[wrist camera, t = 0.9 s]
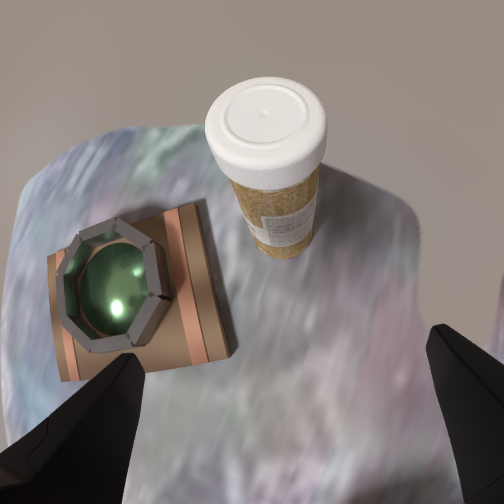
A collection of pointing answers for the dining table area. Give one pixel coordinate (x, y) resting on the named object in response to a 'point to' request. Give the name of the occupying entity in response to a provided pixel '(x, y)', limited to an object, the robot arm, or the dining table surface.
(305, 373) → the dining table surface
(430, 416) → the dining table surface
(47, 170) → the dining table surface
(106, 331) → the ring
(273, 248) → the sprinkles bottle
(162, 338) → the wooden base board
